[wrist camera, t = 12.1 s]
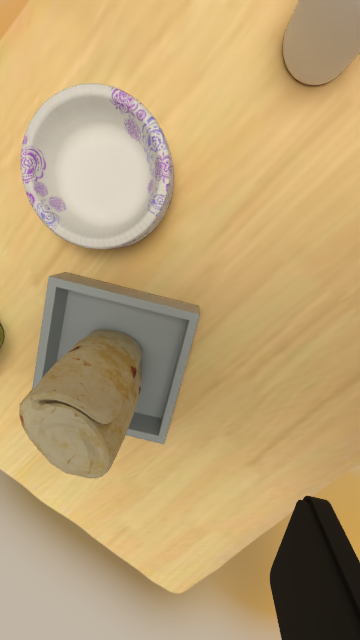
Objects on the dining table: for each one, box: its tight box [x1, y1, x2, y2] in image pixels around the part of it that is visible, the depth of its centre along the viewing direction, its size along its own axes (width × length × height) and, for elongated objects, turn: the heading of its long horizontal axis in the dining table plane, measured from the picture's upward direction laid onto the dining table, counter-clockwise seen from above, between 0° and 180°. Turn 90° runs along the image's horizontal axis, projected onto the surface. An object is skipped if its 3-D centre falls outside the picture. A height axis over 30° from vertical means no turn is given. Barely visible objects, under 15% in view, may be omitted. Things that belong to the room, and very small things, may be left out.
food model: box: [20, 330, 142, 478], centre depth 33 cm, size 10×7×20 cm
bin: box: [32, 272, 200, 444], centre depth 41 cm, size 18×18×5 cm
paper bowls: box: [21, 83, 174, 249], centre depth 35 cm, size 15×15×8 cm
